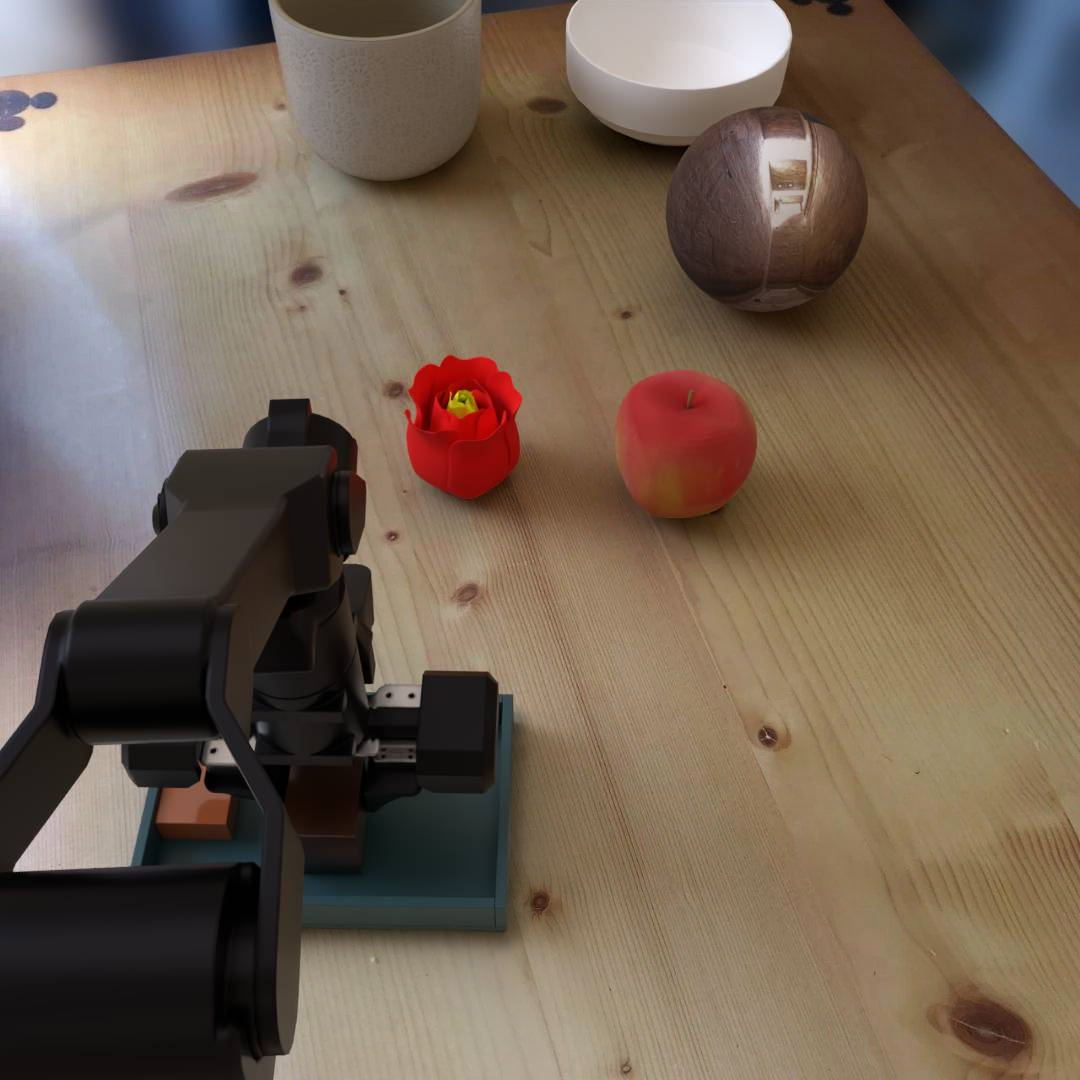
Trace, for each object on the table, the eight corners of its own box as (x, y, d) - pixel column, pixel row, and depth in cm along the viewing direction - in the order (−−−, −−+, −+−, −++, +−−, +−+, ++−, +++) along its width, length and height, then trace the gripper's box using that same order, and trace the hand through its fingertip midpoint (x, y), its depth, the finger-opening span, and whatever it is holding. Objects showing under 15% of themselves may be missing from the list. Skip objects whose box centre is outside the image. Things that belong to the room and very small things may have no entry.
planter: (341, 229, 109) (318, 62, 97) (265, 126, 118) (235, -38, 106) (520, 169, 114) (518, 5, 102) (433, 75, 123) (423, -86, 111)
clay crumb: (161, 839, 73) (153, 823, 72) (175, 776, 76) (168, 758, 74) (232, 840, 73) (226, 824, 72) (244, 777, 76) (238, 760, 74)
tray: (135, 925, 71) (121, 902, 68) (181, 716, 79) (170, 688, 77) (507, 931, 71) (506, 908, 68) (513, 721, 79) (513, 693, 77)
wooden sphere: (703, 370, 98) (726, 206, 87) (631, 250, 107) (642, 86, 95) (881, 328, 101) (926, 163, 90) (796, 214, 110) (827, 51, 99)
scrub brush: (292, 876, 72) (278, 835, 68) (311, 749, 77) (299, 704, 73) (364, 878, 72) (355, 837, 68) (378, 750, 77) (370, 705, 73)
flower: (541, 488, 91) (542, 406, 85) (445, 534, 88) (438, 454, 82) (482, 419, 95) (479, 337, 89) (389, 462, 92) (379, 380, 86)
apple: (729, 565, 87) (749, 464, 79) (591, 532, 88) (597, 430, 81) (757, 462, 92) (778, 359, 85) (627, 433, 94) (635, 329, 86)
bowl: (577, 46, 127) (580, -38, 120) (781, 63, 125) (794, -22, 118) (550, 166, 114) (551, 79, 108) (775, 186, 113) (790, 99, 106)
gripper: (500, 520, 66) (505, 686, 79) (135, 513, 67) (196, 680, 79) (490, 707, 59) (498, 858, 72) (82, 700, 60) (159, 851, 72)
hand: (335, 804), depth 74 cm, fingers closed on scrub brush, 4 cm apart
